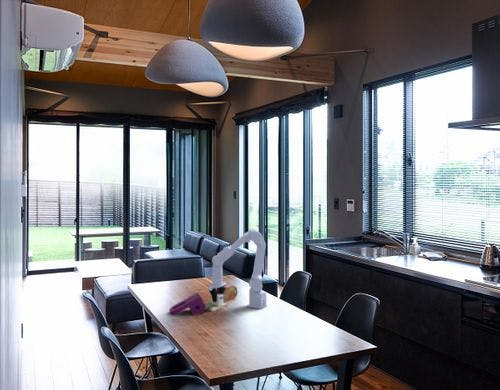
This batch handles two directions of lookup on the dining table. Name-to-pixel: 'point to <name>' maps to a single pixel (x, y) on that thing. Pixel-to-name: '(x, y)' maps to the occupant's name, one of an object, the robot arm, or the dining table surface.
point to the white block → (218, 300)
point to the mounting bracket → (189, 305)
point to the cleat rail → (213, 306)
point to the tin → (229, 293)
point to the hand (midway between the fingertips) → (217, 300)
